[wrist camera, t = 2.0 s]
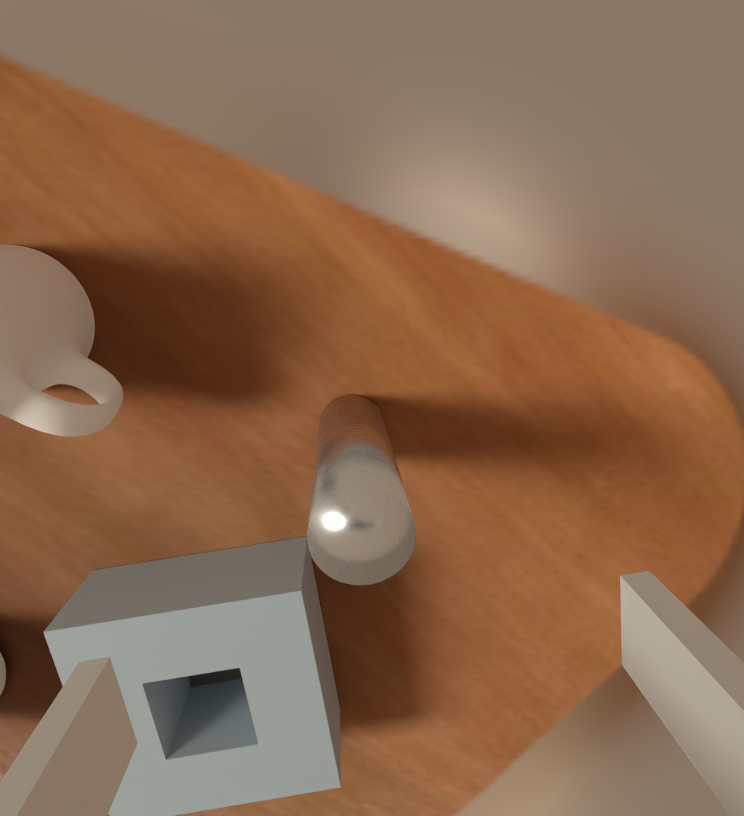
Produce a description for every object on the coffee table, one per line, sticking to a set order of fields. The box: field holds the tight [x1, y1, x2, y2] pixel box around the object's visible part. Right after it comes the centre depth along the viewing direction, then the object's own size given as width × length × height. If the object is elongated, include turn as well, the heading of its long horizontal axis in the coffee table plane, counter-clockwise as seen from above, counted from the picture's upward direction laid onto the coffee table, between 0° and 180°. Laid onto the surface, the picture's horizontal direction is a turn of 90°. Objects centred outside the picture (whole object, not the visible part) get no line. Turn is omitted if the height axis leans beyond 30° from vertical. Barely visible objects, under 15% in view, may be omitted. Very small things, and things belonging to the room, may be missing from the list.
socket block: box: [43, 537, 341, 816], centre depth 34 cm, size 14×14×6 cm
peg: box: [307, 395, 416, 585], centre depth 26 cm, size 4×4×14 cm
